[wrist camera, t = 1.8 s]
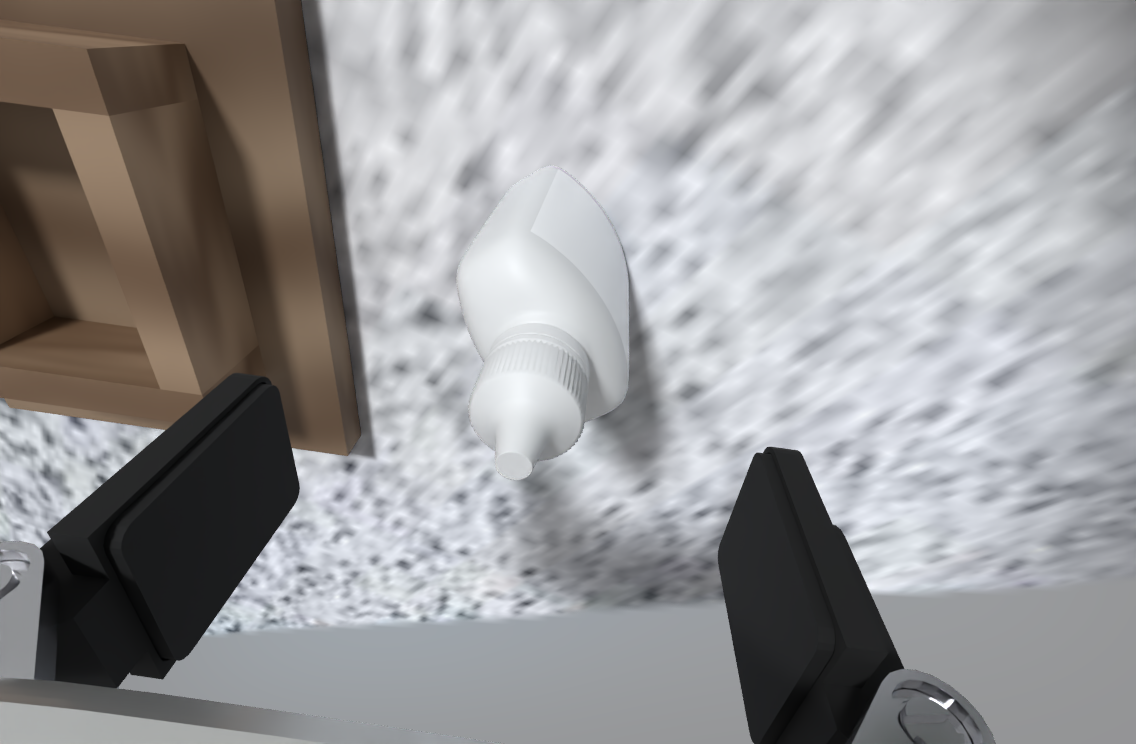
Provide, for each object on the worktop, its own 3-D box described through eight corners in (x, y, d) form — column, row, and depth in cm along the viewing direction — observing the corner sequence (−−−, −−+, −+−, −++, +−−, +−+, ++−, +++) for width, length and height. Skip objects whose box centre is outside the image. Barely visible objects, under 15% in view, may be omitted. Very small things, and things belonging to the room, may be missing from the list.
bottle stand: (-268, -182, 15) (-603, -256, 11) (285, -112, 15) (154, -162, 11) (38, 388, 26) (-72, 458, 22) (361, 434, 26) (310, 513, 22)
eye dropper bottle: (631, 160, 18) (639, 333, 8) (628, 310, 21) (629, 570, 11) (504, 162, 19) (362, 329, 9) (518, 309, 22) (425, 559, 12)
